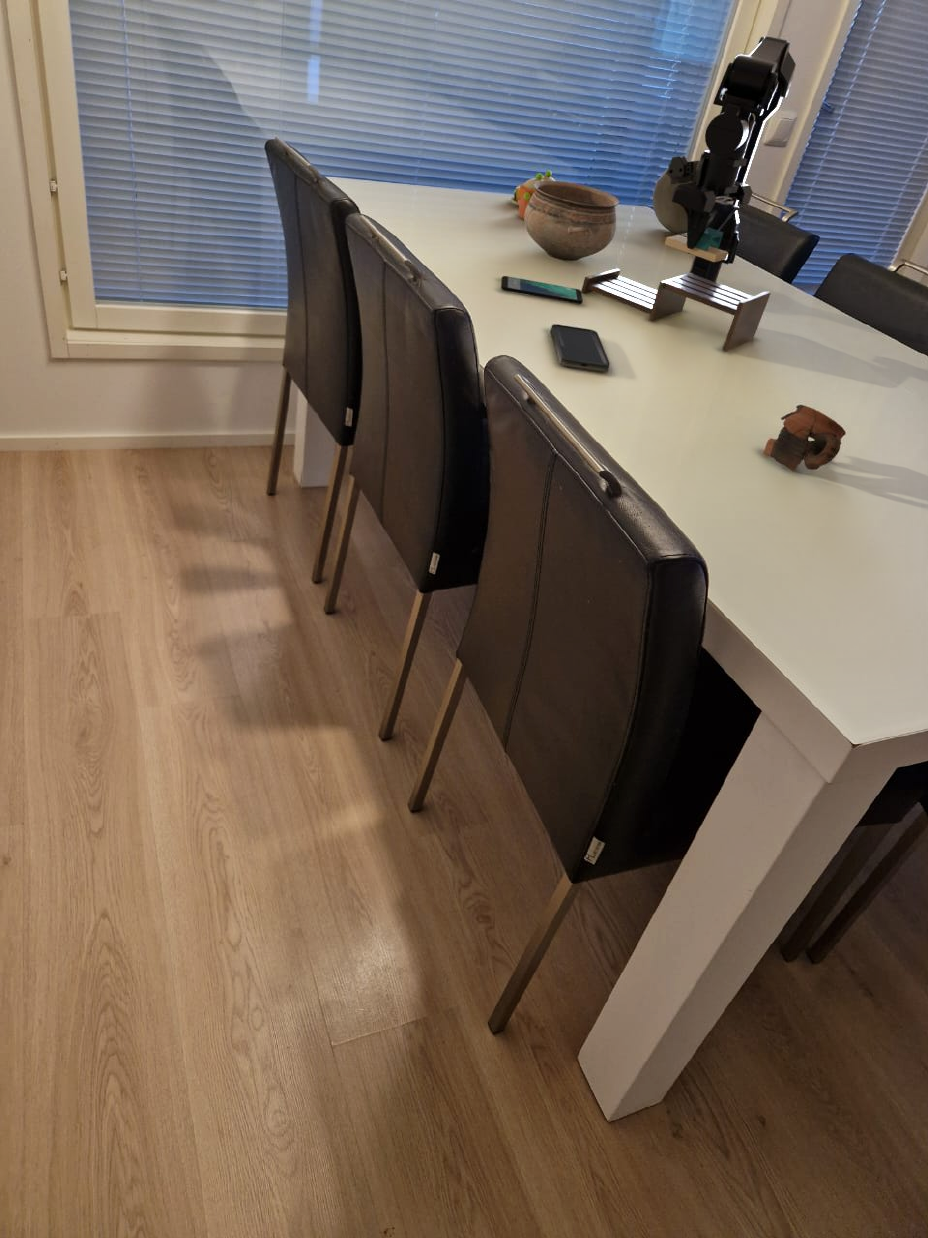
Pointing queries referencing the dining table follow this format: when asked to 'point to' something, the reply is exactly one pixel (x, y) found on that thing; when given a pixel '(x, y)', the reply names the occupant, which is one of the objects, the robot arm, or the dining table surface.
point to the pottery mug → (806, 439)
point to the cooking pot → (570, 219)
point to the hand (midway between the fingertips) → (696, 246)
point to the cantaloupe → (669, 206)
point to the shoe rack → (674, 297)
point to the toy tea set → (527, 192)
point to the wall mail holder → (701, 245)
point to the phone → (579, 348)
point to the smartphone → (541, 289)
